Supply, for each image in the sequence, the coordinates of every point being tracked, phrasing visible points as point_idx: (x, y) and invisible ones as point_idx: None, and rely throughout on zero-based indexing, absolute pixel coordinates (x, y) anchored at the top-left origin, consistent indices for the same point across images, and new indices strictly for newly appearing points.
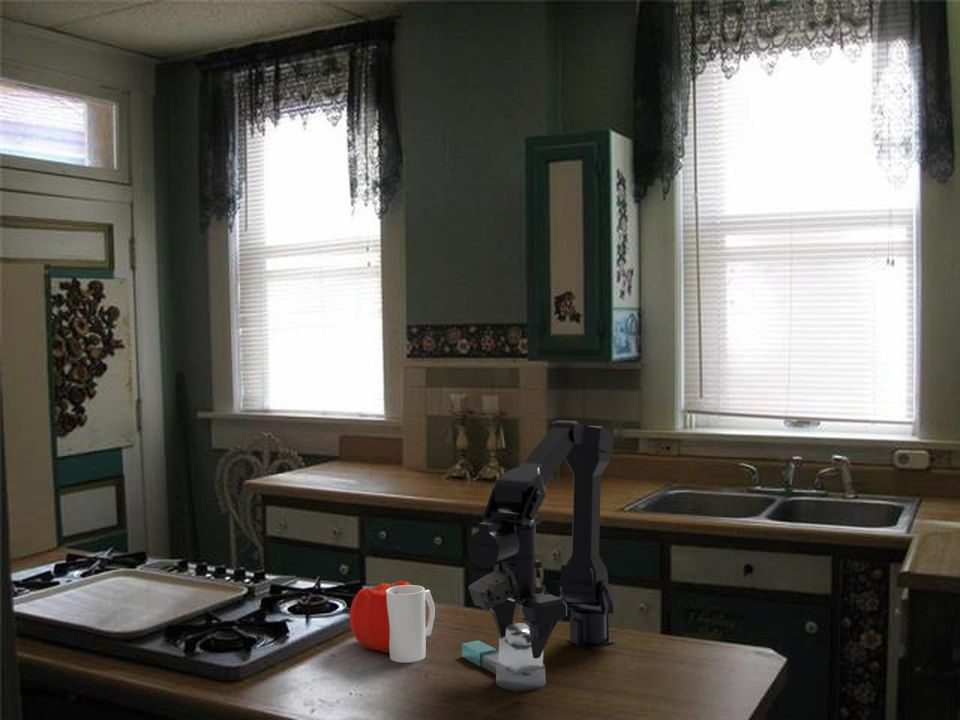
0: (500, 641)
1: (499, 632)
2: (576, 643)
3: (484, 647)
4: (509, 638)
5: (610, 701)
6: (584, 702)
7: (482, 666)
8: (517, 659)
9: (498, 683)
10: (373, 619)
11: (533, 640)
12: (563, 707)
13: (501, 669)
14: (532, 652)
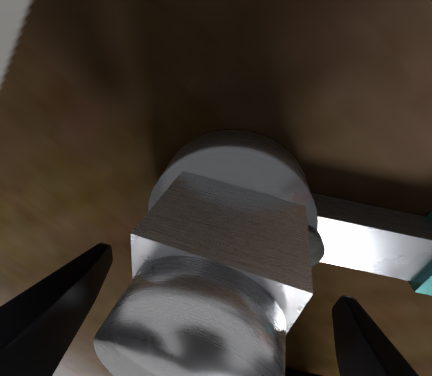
0: (297, 275)
1: (379, 344)
2: (290, 373)
3: None
4: (193, 293)
5: (16, 229)
6: (29, 195)
7: (419, 216)
8: (154, 207)
9: (261, 137)
10: None
11: (4, 309)
12: (14, 142)
13: (260, 173)
14: (91, 259)
